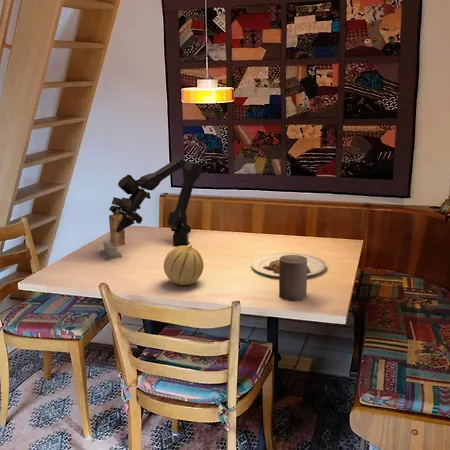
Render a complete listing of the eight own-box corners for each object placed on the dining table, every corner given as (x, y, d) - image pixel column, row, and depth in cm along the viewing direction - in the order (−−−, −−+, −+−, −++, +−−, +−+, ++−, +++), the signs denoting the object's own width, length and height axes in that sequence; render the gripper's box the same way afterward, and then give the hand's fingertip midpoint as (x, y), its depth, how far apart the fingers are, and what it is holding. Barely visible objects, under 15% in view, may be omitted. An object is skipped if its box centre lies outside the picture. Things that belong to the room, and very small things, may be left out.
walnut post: (120, 242, 234) (117, 213, 231) (125, 244, 231) (123, 215, 228) (111, 244, 231) (108, 215, 228) (116, 246, 228) (114, 217, 225)
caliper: (122, 233, 276) (122, 221, 275) (124, 233, 276) (124, 221, 274) (102, 244, 257) (101, 231, 255) (104, 245, 257) (103, 232, 255)
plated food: (267, 253, 239) (267, 246, 238) (334, 262, 226) (334, 254, 225) (239, 274, 213) (239, 266, 212) (313, 285, 200) (313, 276, 199)
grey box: (100, 252, 244) (99, 242, 243) (115, 250, 247) (114, 240, 246) (106, 259, 234) (105, 249, 233) (122, 257, 237) (121, 247, 235)
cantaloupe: (160, 280, 208) (158, 242, 204) (196, 274, 213) (195, 238, 209) (171, 293, 194) (169, 253, 191) (209, 287, 200) (208, 248, 196)
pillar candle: (275, 299, 187) (275, 257, 184) (283, 289, 196) (283, 249, 193) (303, 302, 184) (304, 260, 180) (309, 292, 193) (310, 252, 189)
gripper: (111, 187, 235) (90, 216, 230) (134, 192, 221) (112, 223, 217) (128, 202, 242) (108, 230, 237) (151, 208, 228) (130, 238, 224)
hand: (114, 230), depth 229 cm, fingers closed on walnut post, 4 cm apart
